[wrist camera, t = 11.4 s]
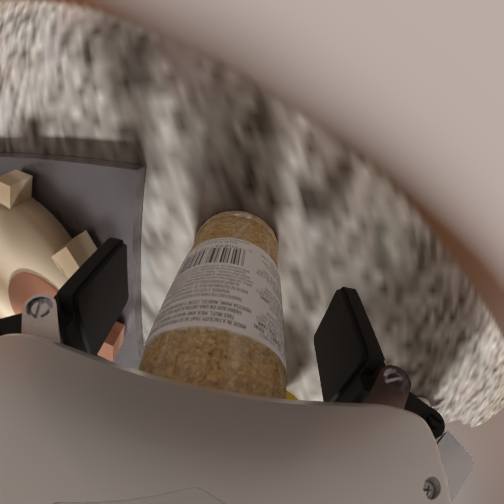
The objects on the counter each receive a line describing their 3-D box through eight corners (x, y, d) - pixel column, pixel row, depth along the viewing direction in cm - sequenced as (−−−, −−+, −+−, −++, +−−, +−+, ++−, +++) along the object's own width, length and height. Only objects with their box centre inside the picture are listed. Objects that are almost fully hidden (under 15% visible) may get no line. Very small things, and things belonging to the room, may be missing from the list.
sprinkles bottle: (196, 278, 16) (121, 520, 4) (195, 203, 14) (40, 488, 2) (274, 285, 16) (279, 544, 4) (285, 211, 14) (331, 546, 2)
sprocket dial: (121, 391, 20) (97, 453, 14) (-11, 313, 18) (-44, 353, 12) (141, 217, 13) (58, 306, 6) (-34, 149, 10) (-98, 180, 4)
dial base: (146, 165, 13) (136, 170, 12) (147, 382, 22) (143, 392, 21) (-31, 152, 12) (-41, 156, 10) (5, 321, 20) (0, 327, 19)
